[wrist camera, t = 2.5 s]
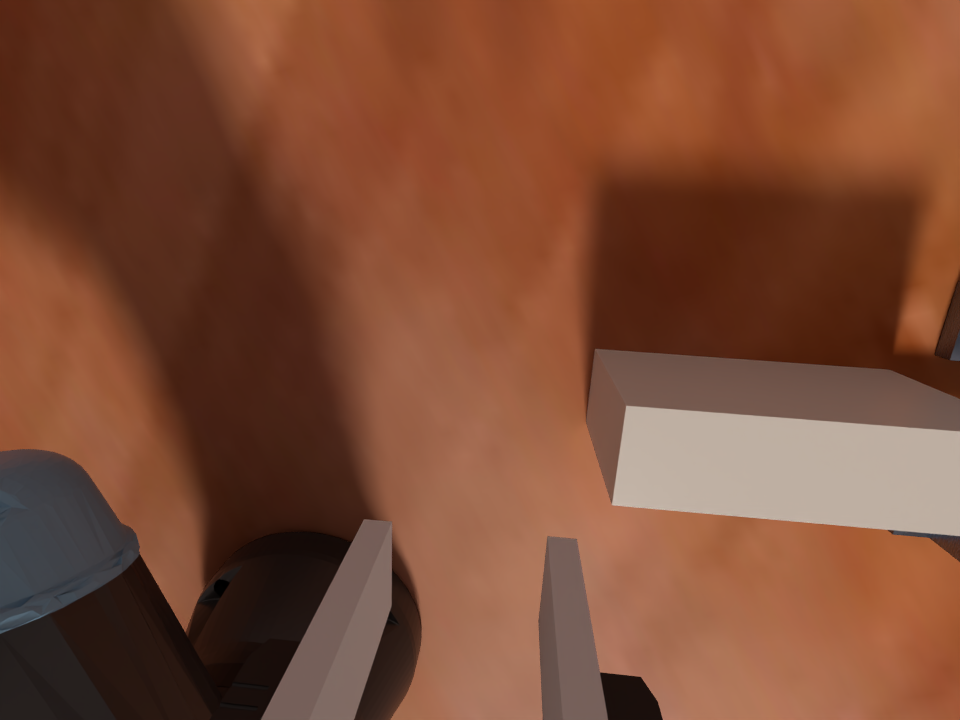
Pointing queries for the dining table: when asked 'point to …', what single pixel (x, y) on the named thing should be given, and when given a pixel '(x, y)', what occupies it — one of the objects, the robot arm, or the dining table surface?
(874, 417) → the white block
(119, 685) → the robot arm
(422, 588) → the dining table surface
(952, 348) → the blue-grey arch stand
